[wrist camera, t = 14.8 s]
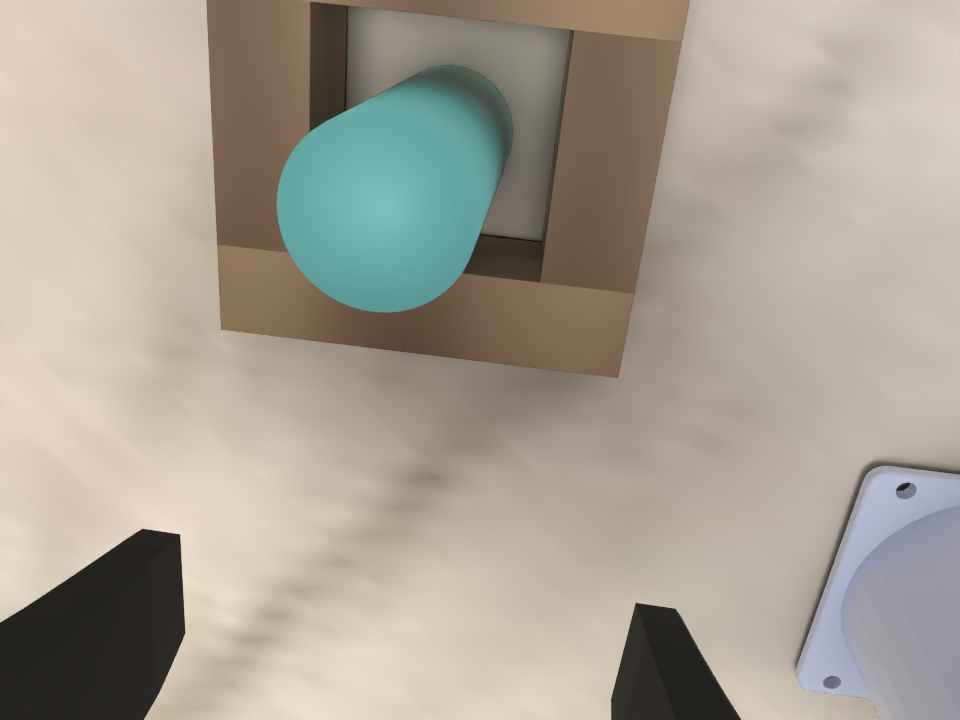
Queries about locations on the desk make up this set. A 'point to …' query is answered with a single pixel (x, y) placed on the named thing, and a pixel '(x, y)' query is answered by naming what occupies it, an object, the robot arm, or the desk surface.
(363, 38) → the desk surface
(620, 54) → the socket block
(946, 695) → the robot arm
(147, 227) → the desk surface
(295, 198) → the dowel
